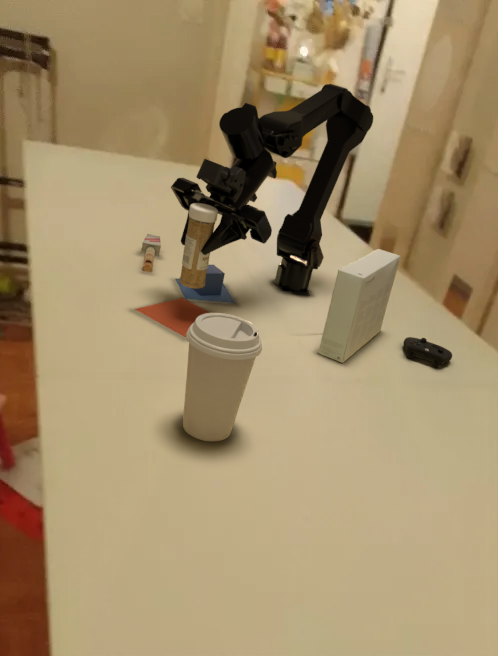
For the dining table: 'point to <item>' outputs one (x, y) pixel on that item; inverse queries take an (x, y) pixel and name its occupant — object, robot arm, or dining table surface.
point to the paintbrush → (150, 250)
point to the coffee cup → (217, 373)
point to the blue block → (212, 282)
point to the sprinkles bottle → (197, 245)
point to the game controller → (427, 351)
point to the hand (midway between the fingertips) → (192, 248)
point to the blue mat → (193, 295)
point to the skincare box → (358, 304)
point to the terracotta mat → (174, 314)
